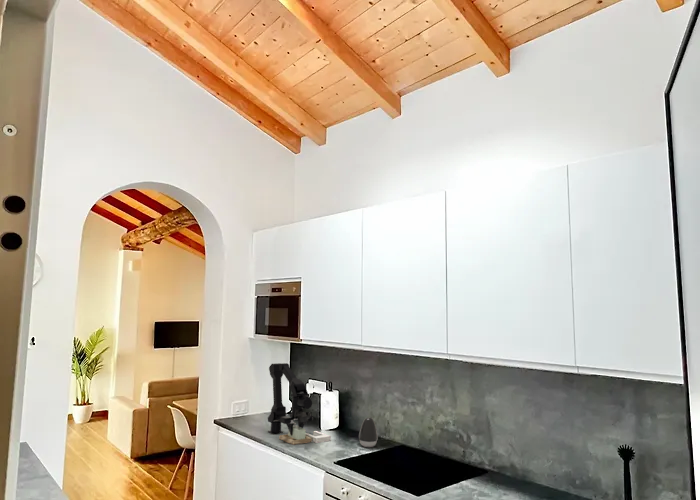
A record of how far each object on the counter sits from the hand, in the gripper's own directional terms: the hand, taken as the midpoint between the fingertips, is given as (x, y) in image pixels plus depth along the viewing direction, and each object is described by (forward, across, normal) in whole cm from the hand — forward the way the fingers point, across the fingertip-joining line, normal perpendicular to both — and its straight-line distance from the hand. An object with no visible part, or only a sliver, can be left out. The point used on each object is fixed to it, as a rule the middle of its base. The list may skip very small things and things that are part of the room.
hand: (295, 434), depth 284 cm
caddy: (+1, 0, 0) cm, 1 cm away
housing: (+3, +12, -2) cm, 13 cm away
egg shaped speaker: (+3, +28, -29) cm, 40 cm away
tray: (+3, 0, 0) cm, 3 cm away
